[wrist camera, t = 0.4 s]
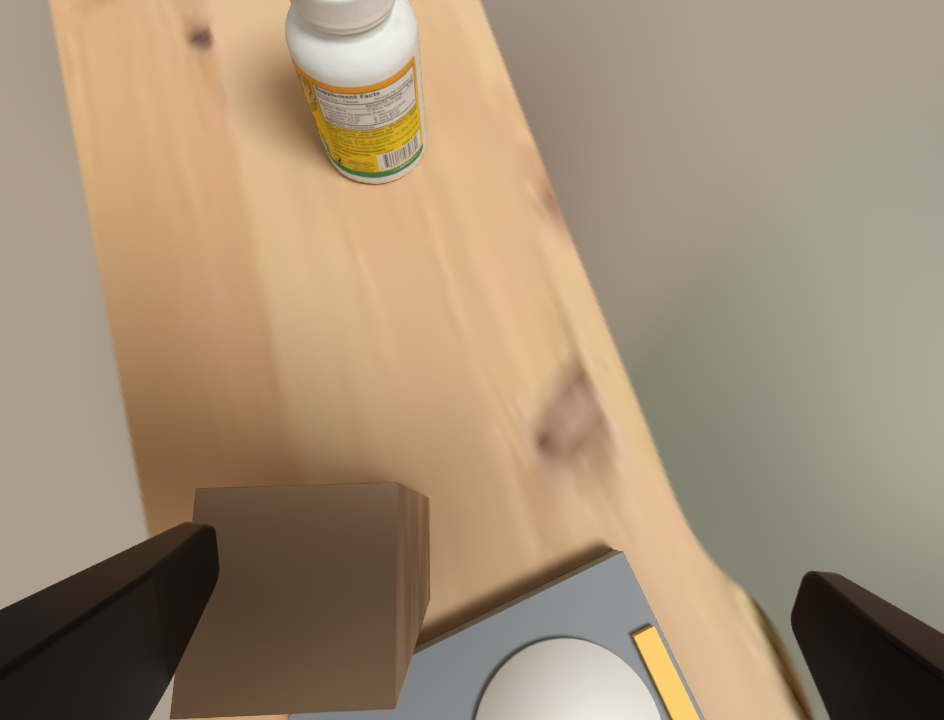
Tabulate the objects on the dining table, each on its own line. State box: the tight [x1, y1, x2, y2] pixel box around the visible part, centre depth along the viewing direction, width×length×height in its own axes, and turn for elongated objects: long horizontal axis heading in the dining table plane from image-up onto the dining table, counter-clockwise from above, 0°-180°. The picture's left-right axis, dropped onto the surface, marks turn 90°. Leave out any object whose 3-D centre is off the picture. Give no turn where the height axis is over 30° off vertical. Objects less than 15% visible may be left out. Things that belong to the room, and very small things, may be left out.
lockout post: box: [170, 483, 430, 719], centre depth 16 cm, size 4×4×12 cm
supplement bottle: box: [285, 0, 426, 184], centre depth 23 cm, size 5×5×10 cm
